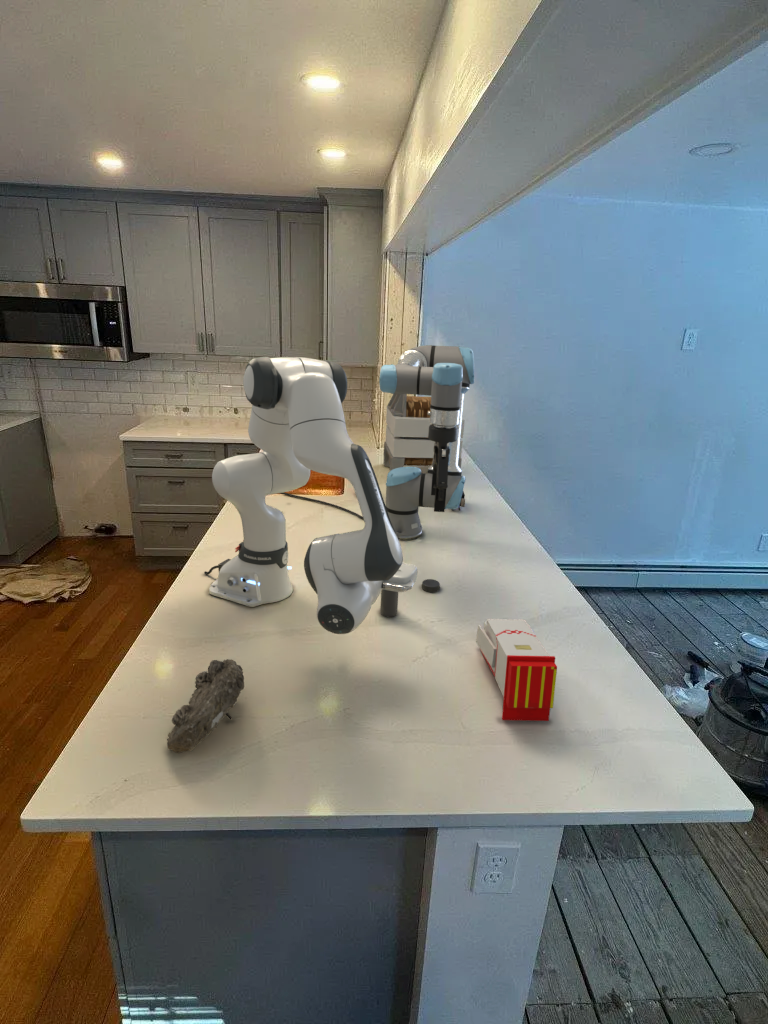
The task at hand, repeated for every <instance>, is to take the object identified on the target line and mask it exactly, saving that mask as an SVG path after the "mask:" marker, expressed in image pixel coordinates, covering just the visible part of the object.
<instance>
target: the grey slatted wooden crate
mask: <svg viewBox="0 0 768 1024" xmlns="http://www.w3.org/2000/svg"><path fill="white" fill-rule="evenodd" d="M430 406H431V396H419V395H417V396H415V395H414V396H413V395H412V396H411V395H408V394H397V393H394V394H392V395H391V398H390V400H389V402H388V404H387V405H386V413H385V414H386V415H385V423H386V428H385V438H384V442H383V466H384V467H388V468H389V472H390V471H391V470H393V469H396V468H400V467H405V466H406V467H417V466H418V467H430V466H431V465H432V464H433V454H434V441H431V440H429V438H428V432H429V426H430V425H431V423H430V422H429V421H430V415H428V412H430V411H431V410H430ZM464 429H465V419H464V418H462V425H461V436H460V447H459V458H458V467H459V468H460V469H461V470H462V461H463V460H462V453H463V442H464V441H463V440H462V439H463V438H464V431H465V430H464Z"/></svg>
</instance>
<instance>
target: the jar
mask: <svg viewBox="0 0 768 1024" xmlns="http://www.w3.org/2000/svg"><path fill="white" fill-rule="evenodd" d="M379 607H380V608H379V612H380V613H379V614H380V615H382V616H383V617H386V618H393V617H395V616H397V614H398V608H399V592H396V591H390V590H383V589H382V591H381V593H380V606H379Z"/></svg>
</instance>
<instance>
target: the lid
mask: <svg viewBox="0 0 768 1024" xmlns="http://www.w3.org/2000/svg"><path fill="white" fill-rule="evenodd" d="M440 588H441V583H440V581H438V580H436V579H432V578H428V579H423V580H422V582H421V589H422V591H425V592H427V593H437V592H439V591H440Z"/></svg>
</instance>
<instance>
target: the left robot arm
mask: <svg viewBox="0 0 768 1024" xmlns="http://www.w3.org/2000/svg"><path fill="white" fill-rule="evenodd" d="M242 384H243V385H242V386H243V390H244V394H245V398H246V400H247V401H248V402H249V403H250V404H251V410H250V416H249V422H248V428H247V433H248V437H249V439H250V441H251V443H252V444H254V446H256V448H258V449H260V450H262V451H261V452H260V451H259V452H255V453H247V454H238V455H234V456H230V457H227V458H224V459H222V460H219V461H217V462H216V464H215V465H214V467H213V470H212V472H211V482H212V486H213V488H214V490H215V492H216V493H217V494H218V495H219V496H220V497H221V498H222V499H224V500H226V501H228V502H229V503H230V504H232V506H234V508H235V509H236V510H237V512H238V514H239V516H240V520H241V524H242V534H243V536H242V537H243V539H242V541H241V542H240V543H239V544H238V546H236V547H235V548H234V550H235V551H234V553H237V552H238V554H236V555H235V556H234V557H231V558H227V559H225V560H223V561H221V562H219V563H218V565H214V566H212V567H211V568H210V569H209V570H208V571H206V570H205V571H203V573H204V575H211V573H212V572H213V570H216V569H218V574H217V578H216V579H215V580H214V581H213V582H212V583H211V584H210V586H209V588H208V589H209V591H208V592H209V595H212V596H215V597H218V598H221V599H224V600H227V601H229V602H233V603H237V604H239V605H243V606H245V607H250V608H254V607H258V606H261V605H264V604H265V605H266V604H272V603H277V602H280V601H283V600H285V599H287V598H288V597H289V596H291V595H292V594H293V591H294V587H293V584H292V581H291V577H290V574H289V570H292V568H293V567H292V566H288V563H289V546H288V545H289V544H288V541H287V523H286V521H287V520H286V517H285V515H284V513H283V511H281V510H280V509H278V508H277V507H274V506H272V505H269V504H267V503H266V496H271V495H276V494H280V493H283V492H284V493H289V492H293V491H295V490H298V489H299V488H302V487H305V486H306V485H307V484H308V482H309V480H310V477H311V471H312V472H315V473H318V474H323V475H327V476H328V475H329V476H335V477H339V478H343V479H345V480H347V481H348V482H349V483H350V485H351V486H352V488H353V490H354V493H355V496H356V499H357V502H358V506H359V509H360V511H361V516H362V517H363V519H362V520H363V522H364V527H363V528H361V529H358V530H354V531H353V530H352V531H347V532H342V533H334V534H329V535H324V536H320V537H316V538H314V539H313V540H312V541H311V542H310V544H309V545H308V548H307V550H306V552H305V555H304V560H303V569H304V573H305V577H306V580H307V581H308V584H309V585H310V587H311V588H312V589H313V591H314V592H315V593H316V595H317V607H316V619H317V621H318V623H319V624H320V626H321V627H322V628H323V629H324V630H326V631H328V632H329V633H332V634H334V635H335V634H336V635H345V634H350V633H352V632H353V631H355V630H356V629H357V628H359V626H360V625H361V624H362V623H363V622H364V621H365V619H366V617H367V615H369V613H370V611H371V608H372V606H373V605H374V604H375V603H376V601H377V599H378V598H379V596H380V595H381V591H382V589H383V590H390V591H396V592H398V593H405V592H408V591H410V590H412V589H413V587H414V585H415V584H416V582H417V579H418V567H417V566H416V565H415V564H412V563H406V562H404V556H403V548H402V545H401V542H400V540H398V537H397V535H396V532H395V530H394V528H393V526H392V523H391V521H390V518H389V515H388V512H387V509H386V506H385V504H386V502H385V500H384V496H383V494H382V491H381V487H380V485H379V482H378V478H377V476H376V473H375V470H374V468H373V465H372V462H371V460H370V458H369V456H368V454H367V452H366V450H365V449H364V448H363V446H362V445H359V444H356V443H355V442H353V440H352V439H351V437H350V436H349V435H350V434H349V433H348V429H347V423H346V418H345V413H344V407H343V402H344V401H345V399H346V396H347V394H348V393H347V392H348V377H347V374H346V371H345V370H344V368H343V366H342V365H340V364H339V363H337V362H335V361H331V360H328V359H324V360H321V359H315V358H311V357H303V356H296V357H290V356H289V357H287V356H286V357H285V356H282V357H279V356H278V357H269V356H260V357H255V358H252V359H251V360H250V361H249V362H248V363H247V365H246V366H245V370H244V373H243V378H242Z"/></svg>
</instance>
